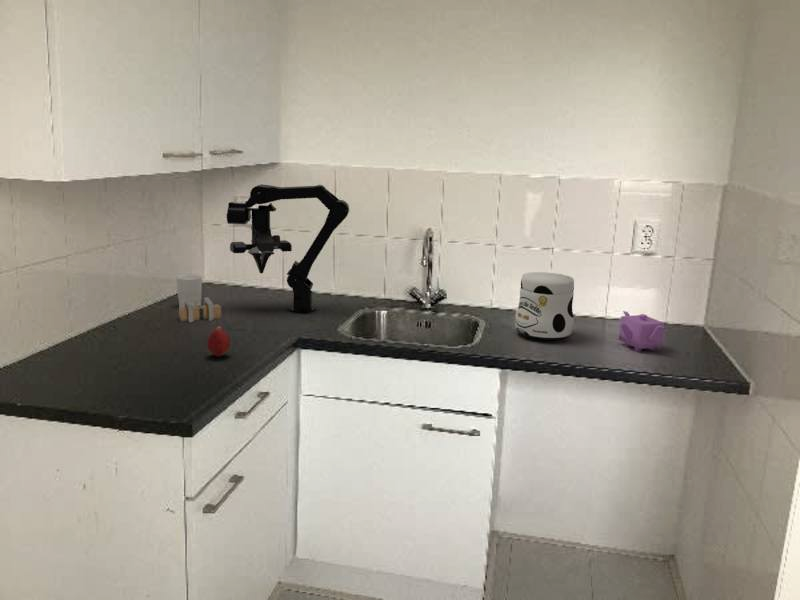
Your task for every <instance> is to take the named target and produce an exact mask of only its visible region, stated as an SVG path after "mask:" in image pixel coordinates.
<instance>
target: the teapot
mask: <svg viewBox="0 0 800 600" xmlns="http://www.w3.org/2000/svg"><path fill="white" fill-rule="evenodd" d="M622 313H623V314H624V315H622V316H621V317H620V326H619V332H618V333H619V335H618V340H619V341H621V342H622V343H624V344H623V347H626V348H627V347H629V348H630V347H633V348H634V350H633V351H635V352H639V353H640V352H642V350H645V349H647V350H648V351H656V349H657V348H658V349H659V348H662V347H663V342H664V341H663V340H664V334H665V333H664V332H665V322H662V321H660V320H658V319H655V318H652V317H649V316H648V315H647V314H645V313H643V314H638V315H630V314H629V312H628V311H625V310H624V311H622ZM655 348H656V349H655Z"/></svg>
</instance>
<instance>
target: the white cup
mask: <svg viewBox="0 0 800 600" xmlns="http://www.w3.org/2000/svg"><path fill="white" fill-rule="evenodd" d="M175 278H176V287H177V288H176V289H177V291H176V292H177V298H178V306H179V307H185V304H184V299H189V300H190V302H191V303H192V305H193V306H194V299H197V301H198V303H197V306H200V305H202V291H203V289H202V288H203V277H202V275H201V274H180V275H178V276H176V277H175ZM179 307H178V308H179Z"/></svg>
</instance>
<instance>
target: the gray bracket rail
mask: <svg viewBox="0 0 800 600" xmlns="http://www.w3.org/2000/svg"><path fill="white" fill-rule="evenodd" d="M203 299H204V300H203V301H204V302H203V303H204V305H208V312H209V319H208V321H209V322H210V321H212V322H213V321H214V319H213V305H214V303H213V301H212V300H211V299H210V298H209V297H208V296H207V297H203ZM197 303H198V301H197V299H194V306H197ZM184 304H185V307H187V306H188V321H187V322H188V323H194V320H193V305H192V303H191V302H190V300H189V299H184Z"/></svg>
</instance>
